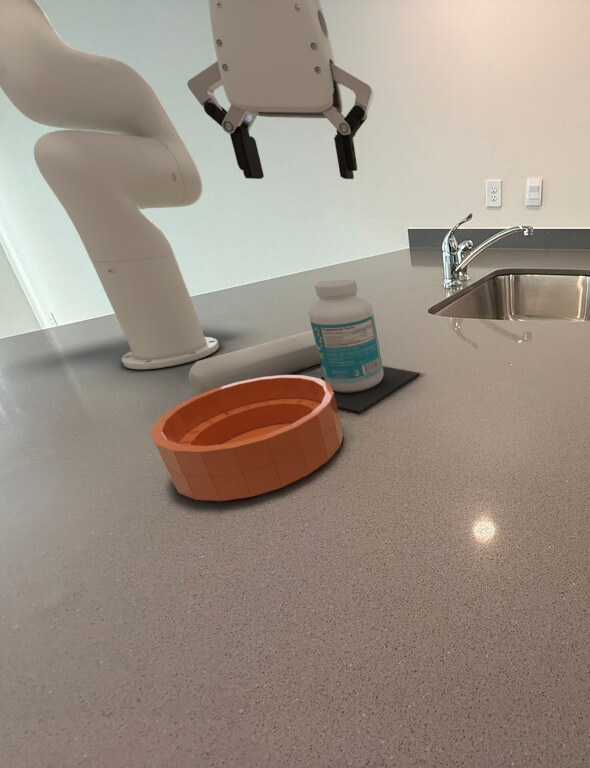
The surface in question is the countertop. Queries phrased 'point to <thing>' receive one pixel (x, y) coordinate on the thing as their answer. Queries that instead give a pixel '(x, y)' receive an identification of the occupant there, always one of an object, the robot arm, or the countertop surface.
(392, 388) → the coaster
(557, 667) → the countertop surface
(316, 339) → the pill bottle
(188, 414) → the bowl
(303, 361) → the tube
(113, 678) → the countertop surface
